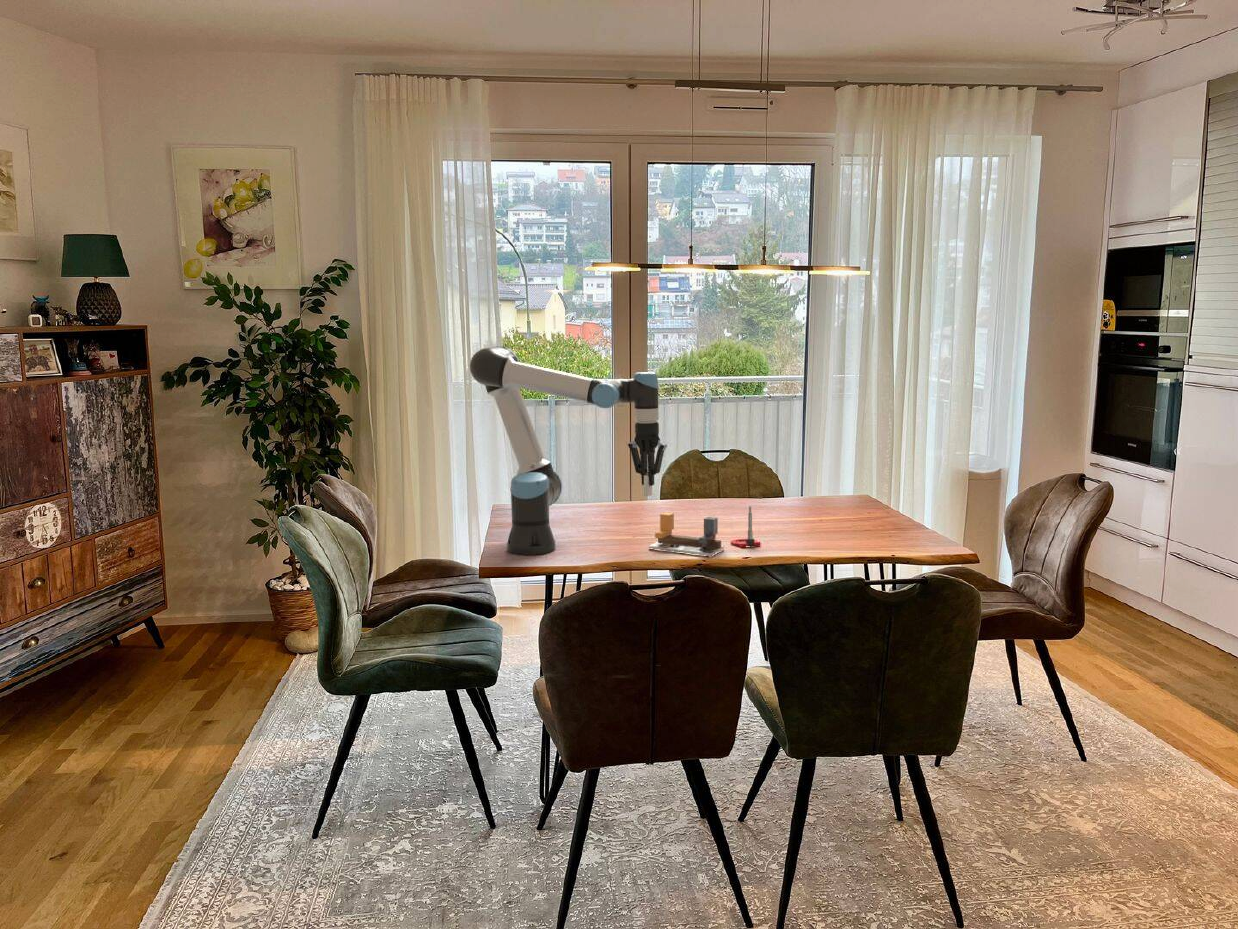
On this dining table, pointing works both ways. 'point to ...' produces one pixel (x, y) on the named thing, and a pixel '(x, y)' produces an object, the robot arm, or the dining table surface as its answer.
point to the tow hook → (750, 540)
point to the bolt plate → (687, 545)
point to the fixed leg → (709, 531)
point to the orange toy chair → (665, 526)
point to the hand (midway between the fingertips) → (648, 495)
